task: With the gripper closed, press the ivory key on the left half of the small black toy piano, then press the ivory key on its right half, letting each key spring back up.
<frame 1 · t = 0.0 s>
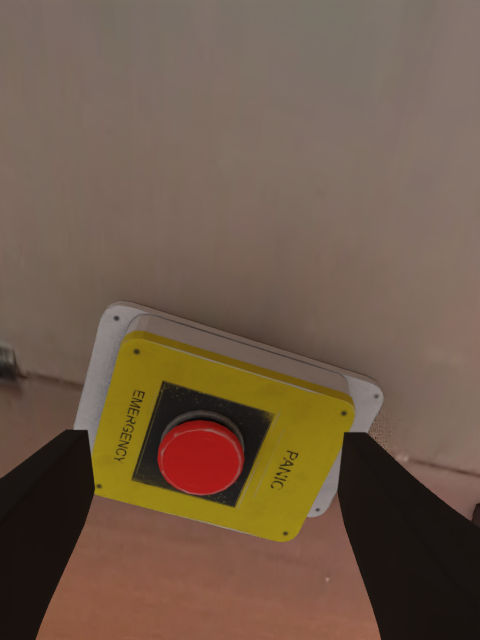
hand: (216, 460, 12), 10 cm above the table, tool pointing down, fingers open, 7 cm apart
emergency button: (225, 413, 23), on the table
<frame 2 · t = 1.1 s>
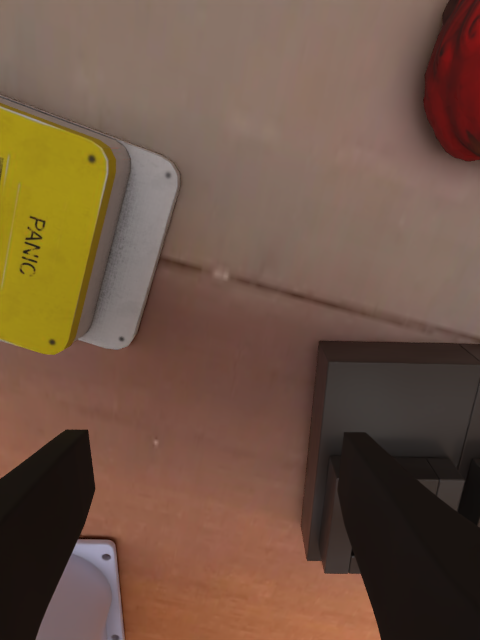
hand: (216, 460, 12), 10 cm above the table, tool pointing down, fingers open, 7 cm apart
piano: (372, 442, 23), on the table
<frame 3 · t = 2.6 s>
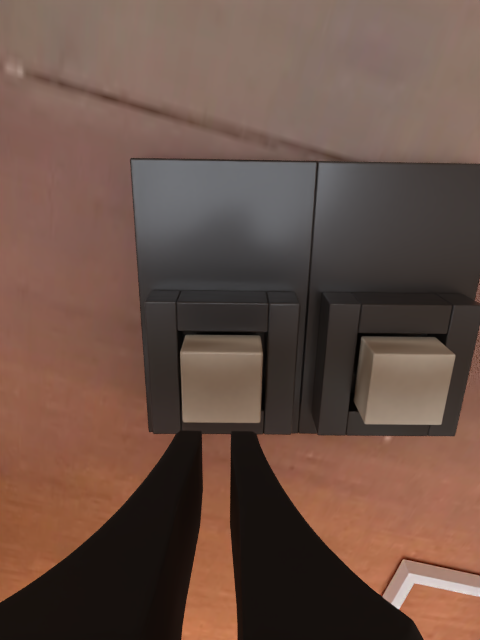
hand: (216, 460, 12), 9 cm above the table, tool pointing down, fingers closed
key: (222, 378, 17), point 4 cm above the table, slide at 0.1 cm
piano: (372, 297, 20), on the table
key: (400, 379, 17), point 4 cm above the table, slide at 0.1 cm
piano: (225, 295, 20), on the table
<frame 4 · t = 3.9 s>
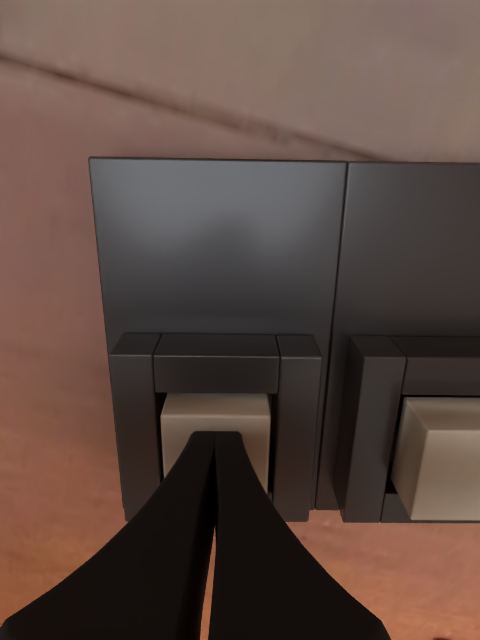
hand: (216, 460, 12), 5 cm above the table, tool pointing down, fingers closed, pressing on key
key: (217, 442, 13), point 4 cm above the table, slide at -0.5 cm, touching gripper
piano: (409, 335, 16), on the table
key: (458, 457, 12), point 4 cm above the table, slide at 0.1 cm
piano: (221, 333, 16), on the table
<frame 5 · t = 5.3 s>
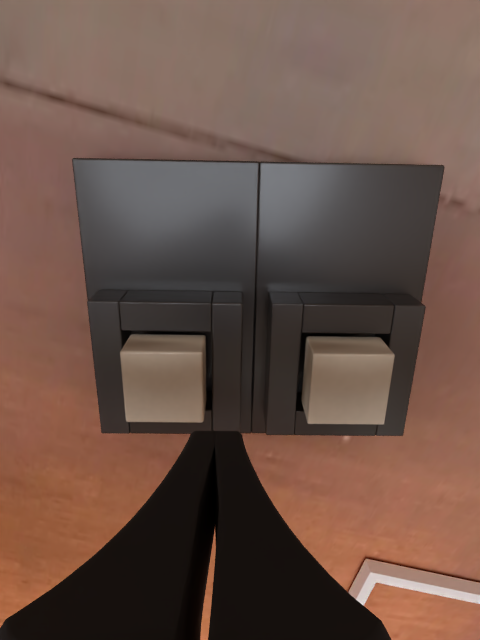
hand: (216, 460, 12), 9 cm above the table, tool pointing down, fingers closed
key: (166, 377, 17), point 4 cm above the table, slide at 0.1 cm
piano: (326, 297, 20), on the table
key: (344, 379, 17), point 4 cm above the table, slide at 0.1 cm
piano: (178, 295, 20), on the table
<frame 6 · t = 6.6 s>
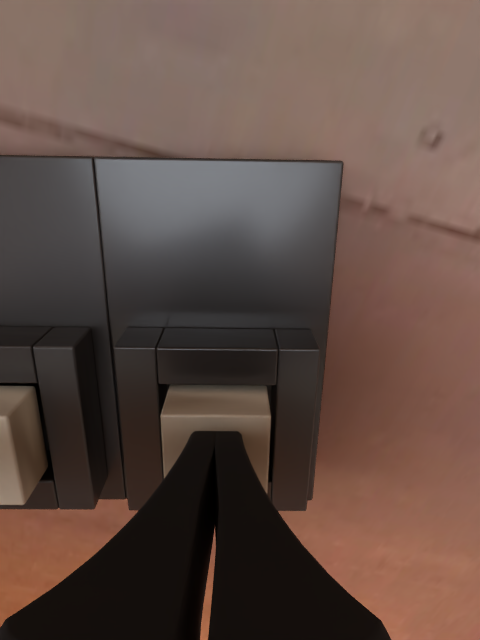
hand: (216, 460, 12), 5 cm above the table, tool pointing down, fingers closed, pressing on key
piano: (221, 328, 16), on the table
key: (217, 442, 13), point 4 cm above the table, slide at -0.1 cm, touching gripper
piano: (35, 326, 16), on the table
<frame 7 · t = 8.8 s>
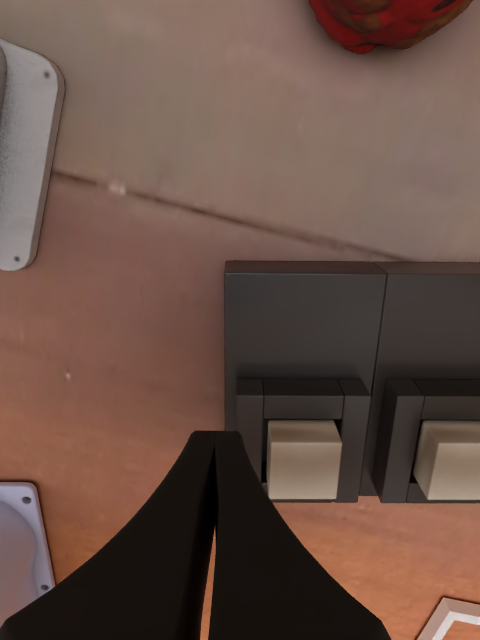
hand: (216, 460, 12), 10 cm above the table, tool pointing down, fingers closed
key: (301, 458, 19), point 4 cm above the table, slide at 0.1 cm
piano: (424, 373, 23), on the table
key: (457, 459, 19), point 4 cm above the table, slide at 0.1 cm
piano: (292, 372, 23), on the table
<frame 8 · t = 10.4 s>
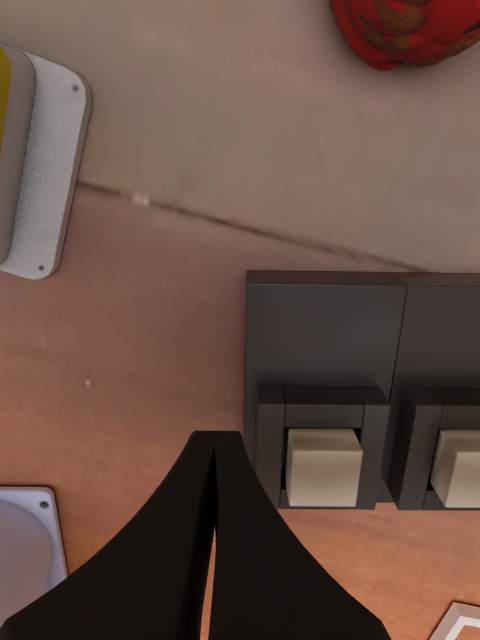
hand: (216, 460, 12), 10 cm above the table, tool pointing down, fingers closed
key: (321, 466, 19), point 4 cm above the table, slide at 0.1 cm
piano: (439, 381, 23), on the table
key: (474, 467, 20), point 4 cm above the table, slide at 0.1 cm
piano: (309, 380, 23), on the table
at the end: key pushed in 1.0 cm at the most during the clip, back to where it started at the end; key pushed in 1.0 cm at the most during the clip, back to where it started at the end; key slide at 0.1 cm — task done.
